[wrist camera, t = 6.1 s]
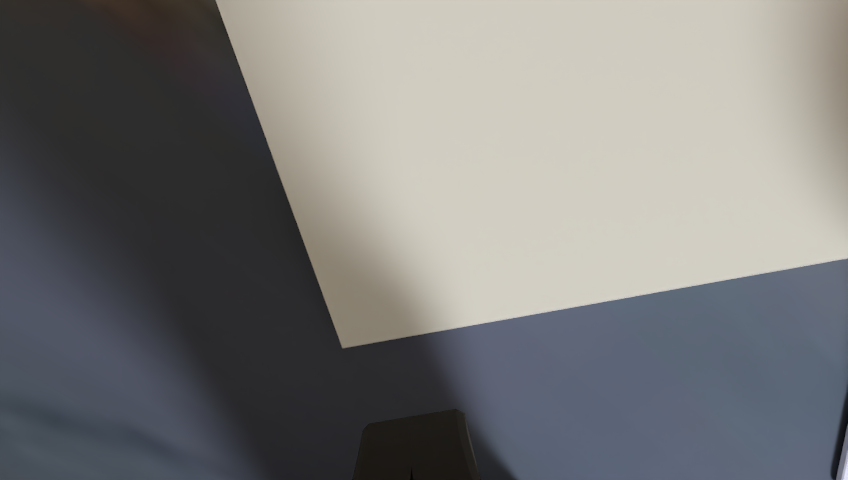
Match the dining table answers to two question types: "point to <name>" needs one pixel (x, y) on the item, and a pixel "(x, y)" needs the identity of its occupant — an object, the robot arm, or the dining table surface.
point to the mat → (547, 148)
